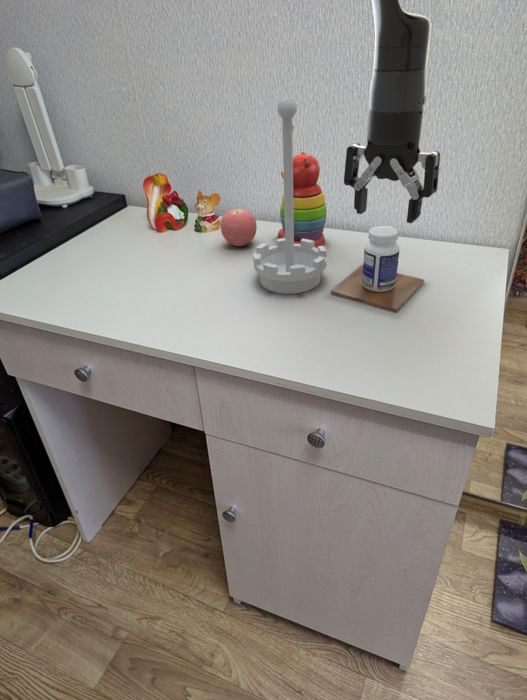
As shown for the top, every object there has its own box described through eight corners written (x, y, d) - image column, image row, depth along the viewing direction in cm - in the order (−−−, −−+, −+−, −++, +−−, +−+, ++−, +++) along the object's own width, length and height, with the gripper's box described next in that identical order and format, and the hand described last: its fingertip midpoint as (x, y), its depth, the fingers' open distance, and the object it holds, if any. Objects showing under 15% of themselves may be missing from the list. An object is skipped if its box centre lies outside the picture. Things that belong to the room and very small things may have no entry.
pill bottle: (397, 279, 87) (403, 225, 81) (393, 295, 83) (399, 239, 77) (364, 276, 89) (368, 223, 83) (358, 291, 84) (363, 235, 78)
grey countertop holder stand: (321, 299, 84) (325, 104, 66) (247, 294, 86) (232, 106, 69) (329, 265, 94) (335, 89, 77) (263, 262, 97) (254, 91, 79)
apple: (220, 239, 107) (217, 203, 102) (254, 235, 108) (251, 199, 103) (224, 253, 101) (220, 215, 96) (259, 249, 102) (257, 211, 97)
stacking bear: (277, 233, 108) (275, 148, 98) (323, 232, 108) (326, 146, 97) (277, 254, 99) (274, 163, 89) (327, 253, 99) (330, 161, 88)
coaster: (424, 282, 87) (424, 279, 87) (396, 312, 79) (396, 309, 79) (362, 267, 93) (362, 264, 93) (330, 293, 85) (330, 290, 85)
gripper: (338, 106, 70) (334, 217, 80) (436, 112, 63) (420, 233, 73) (362, 98, 75) (356, 203, 85) (455, 103, 68) (438, 217, 77)
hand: (385, 217), depth 79 cm, fingers open, 8 cm apart
